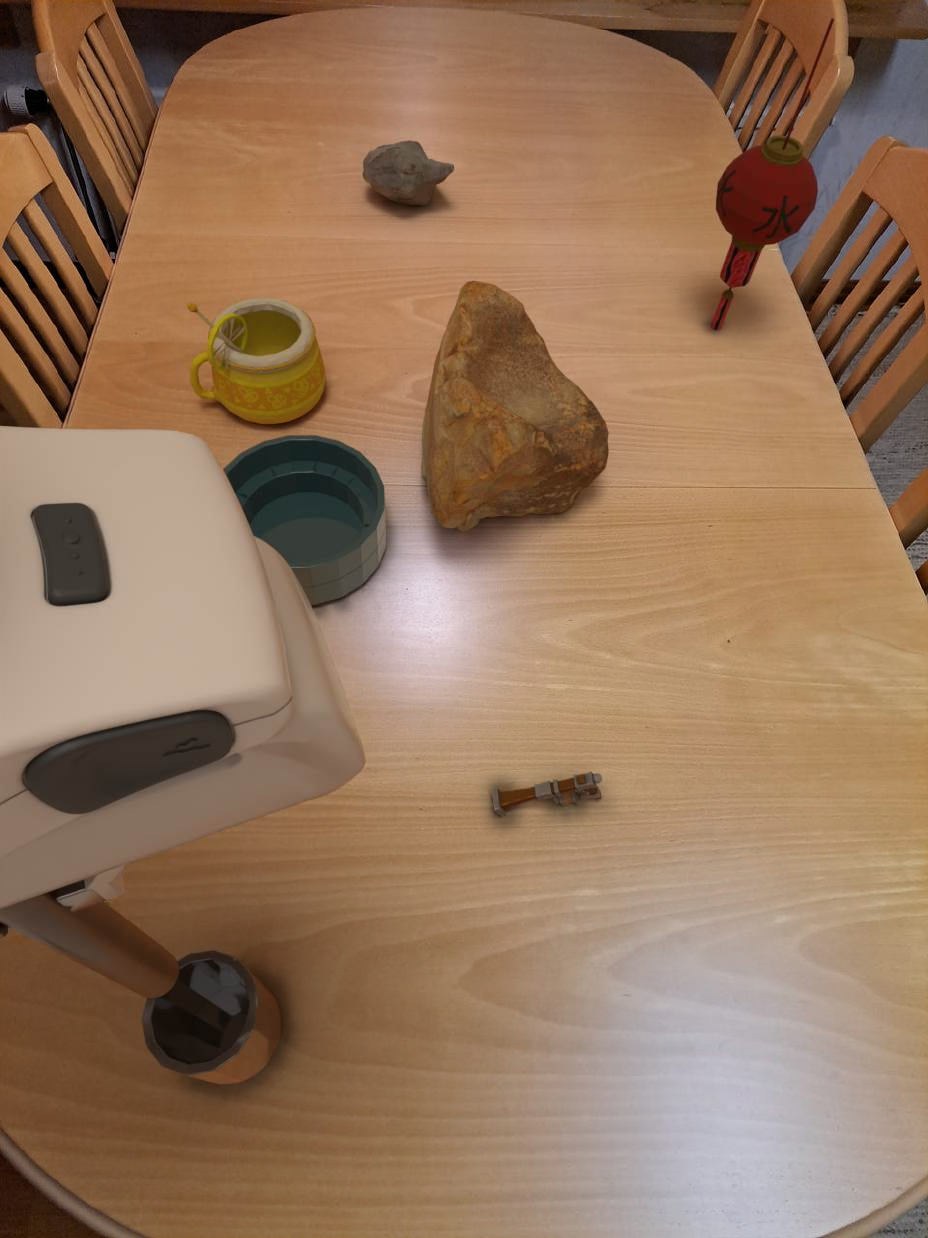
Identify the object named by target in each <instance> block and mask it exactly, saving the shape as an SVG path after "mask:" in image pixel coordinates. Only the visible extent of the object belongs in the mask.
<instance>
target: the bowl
mask: <svg viewBox="0 0 928 1238" xmlns="http://www.w3.org/2000/svg"><path fill="white" fill-rule="evenodd" d="M222 469H223V471H224V472H225V474H226V476H227V478H228V480H229V482H230V484H231V486H232V488H233V490H234V492H235V494H236V496H237V498H238V500H239V502H240V505H241V507H242V509H243V512H244V514H245V516H246V519H247V521H248V523H249V526H250V528H251V530H252V533H253V536H255V537H257V538H259V539H261V540H263V541H264V542H266V543H267V544H269V545H270V546H271V547H272V548H274V549H275V550H276V551H277V552H278V553H279V554H280V555H281V556H282V557H283V558H284V560H285V561H286V562H287V563H288V565H289V566H290V567H291V569H292V571H293V572H294V574H295V576H296V577H297V579H298V581H299V583H300V584H301V586H302V588H303V590H304V592H305V594H306V596H307V598H308V600H309V602H310V604H311V606H315V605H319V604H323V603H327V602H330V601H334V600H336V599H340V598H342V597H344V596H346V595H348V594H349V593H351V592H353V591H354V590H355V589H358V588H359V587H361V586H362V585H363V584H365V582H366V581H367V580H368V579H369V577H370V576H371V575H372V574H373V573H374V572H375V571H376V570H377V568H378V567H379V566H380V563H381V562H382V559H383V556H384V554H385V550H386V548H387V519H386V518H387V517H386V515H387V514H386V493H385V492H386V491H385V490H386V489H385V485H384V483H383V480H382V478H381V476H380V474H379V471H378V469H377V467H376V466H375V465H374V464H373V463H372V462H371V461H370V460H369V458H367V457H366V456H365V455H364V454H363V453H362V452H361V451H360V450H358V449H356V448H354V447H352V446H350V445H349V444H346V443H345V442H342V441H341V440H337V439H333V438H330V437H325V436H320V435H316V434H315V435H314V434H290V435H284V436H280V437H276V438H271V439H268V440H263V441H261V442H259V443H257V444H255V445H253V446H251V447H249V448H248V449H245V450H243V451H242V452H241V453H240V452H239V454H238V455H237V456H235V457H234V458H233V459H232V460H231V461H230V462H229V463H228V464H226V466H225V467H223V468H222Z"/></svg>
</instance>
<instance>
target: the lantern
mask: <svg viewBox="0 0 928 1238" xmlns="http://www.w3.org/2000/svg"><path fill="white" fill-rule="evenodd" d="M834 22H835V18H833V17H832V18H830V20H829V24H828V26H827V29H826V31H825V33H824V37H823V40H822V42H821V44H820V47H819V50H818V52H817V55H816V58H815V60H814V63H813V66H812V69H811V71H810V74H809V76H808V78H807V82H806V84H805V87H804V90H803V93H802V95H801V96H800V97H801V98H800V100H799V102H798V105H797V108H796V111H795V114H794V116H793V118H792V121H791V124H790V127H789V128H788V132H787V134H786V135H781V134H780V135H778V134H777V135H773V136H770V137H768V138H767V140H766V141H765V142H764V144H762V145H756V146H753V147H750V148H748V149H746V150H745V151H743V152H742V153H741V154H739V155H738V156H736V157H735V158H734V159H732V161H731V162H730V163H729V164H728V165H727V167H726V168H725V169H724V171H723V173H722V174H721V176H720V178H719V180H718V182H717V187H716V197H715V211H716V213H717V216H718V218H719V221H720V223H721V225H722V227H723V228H724V230H725V232H727V233H728V234H729V235H730V236H731V242H730V245H729V247H728V250H727V253H726V256H725V258H724V261H723V264H722V267H721V270H720V273H719V278H720V280H721V281H722V282H723V283H724V284H726V285H727V287H729V288H728V289H725V290H723V292H722V293H721V297H720V298H719V302H718V305H717V307H716V310H715V313H714V316H713V318H712V321H711V323H710V327H711V329H713V330H714V331H719V330H721V329H722V327H723V324H724V322H725V319H726V317H727V315H728V312H729V309H730V307H731V304H732V301H733V299H734V295H735V294H734V293H735V292H733V289H735V288H740V287H746V286H747V285H748V284H749V283H750V281H751V279H752V276H753V273H754V271H755V269H756V266H757V263H758V261H759V258H760V256H761V253H762V252H763V249H764V248H765V246H770V245H771V246H772V245H775V244H778V243H780V242H782V241H784V240H786V239H789V238H790V237H792V236H793V235H795V234H797V233H798V232H799V231H800V230H801V229H802V227H803V226H804V224H805V223H806V221H808V219H809V217H810V216H811V215H812V213H813V212H814V211H815V209H816V203H817V198H818V193H819V188H818V187H819V186H818V179H817V176H816V172H815V169H814V166H813V165H812V164H811V162H810V161H809V159H808V158H807V157H805V156H804V155H803V152H804V146H803V144H802V143H801V142H800V141H799V140H797V139H795V138H794V137H791V134H792V132H793V129H794V126H795V125H796V121H797V119H798V116H799V114H800V111H801V108H802V106H803V103H804V100H805V98H806V95H807V93H808V90H809V87H810V85H811V82H812V79H813V77H814V74H815V72H816V69H817V66H818V63H819V61H820V59H821V56H822V53H823V51H824V49H825V45H826V43H827V40H828V37H829V34H830V32H831V30H832V27H833V24H834Z"/></svg>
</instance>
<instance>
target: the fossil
mask: <svg viewBox="0 0 928 1238" xmlns="http://www.w3.org/2000/svg"><path fill="white" fill-rule="evenodd" d="M362 169H363V171H362V178H363V180H364V181H365V182H366V183H368V184H369V186H371V188H372V189H374V191H375V192H377V193H378V194H380V195H382V196H384V197H385V198H387V199H388V200H391V201H393V202H396V203H398V204H401V205H406V206H410V207H423V206H426V205H428V203H429V202H430V200H431V197H432V195H433V193H434V190H435V189H436V186H437V185H440V184H441V183H444V182H445V180H447V178H448V177H449V176H450V175H451V174H452V173H454V170H455V165H454V164H453V163H450V162H442V161H437V160H435V159H432V158H429V157H428V155H427V153H426V152H425V149H424V148H423V146H422V144H421V143H420V142H419V141H417V140H411V139H410V140H403V141H402V140H401V141H398V142H395V143H390V144H382V145H379V146H376V148H375V149H374V150H369V151H368V153H367V155H366V156H365V157H364V159H363V161H362Z"/></svg>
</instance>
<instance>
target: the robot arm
mask: <svg viewBox="0 0 928 1238" xmlns="http://www.w3.org/2000/svg"><path fill="white" fill-rule="evenodd" d="M223 469H224V468H223V467H222V465H221V464H220V462H219V460H218V459H217V456H216V455H215V453H214V451H213V449H212V448H211V446H210V445H209V443H207V442H206V440H204V439H203V438H201V437H199V436H197V435H195V434H192V433H189V432H185V431H179V430H172V429H158V428H157V429H155V428H153V429H152V428H151V429H150V428H109V429H108V428H60V427H59V428H58V427H56V428H55V427H25V426H10V425H6V426H5V425H0V909H1V908H4V907H7V906H10V905H12V904H15V903H18V902H21V901H24V900H27V899H30V898H32V897H35V896H38V895H41V894H44V893H47V892H49V891H52V890H55V893H56V899H57V902H59V903H60V904H62V905H63V906H69V907H70V910H71V911H73V912H74V911H77V910H80V909H83V908H86V907H89V906H92V905H95V904H98V903H101V902H106V901H109V900H112V899H115V898H118V897H121V896H123V895H124V894H125V881H124V875H123V869H124V868H125V867H126V866H127V865H129V864H133V863H134V862H138V861H140V860H143V859H146V858H149V857H151V856H154V855H157V854H158V855H159V854H161V853H163V852H166V851H169V850H172V849H175V848H178V847H181V846H184V845H186V844H190V843H191V842H195V841H198V840H201V839H203V838H206V837H209V836H213V835H215V834H217V833H221V832H223V831H226V830H229V829H231V828H235V827H238V826H240V825H243V824H247V823H248V822H252V821H254V820H257V819H260V818H263V817H266V816H268V815H271V814H274V813H277V812H280V811H282V810H286V809H288V808H291V807H294V806H297V805H301V804H303V803H305V802H309V801H312V800H316V799H318V798H321V797H325V796H328V795H330V794H332V793H333V792H336V791H338V790H339V789H341V788H342V787H344V786H346V785H347V784H348V783H349V782H350V781H351V780H352V779H354V778H355V777H357V776H358V775H359V773H361V772H362V771H363V769H364V768H365V765H366V760H367V759H366V751H365V748H364V745H363V741H362V738H361V735H360V733H359V730H358V726H357V724H356V721H355V718H354V714H353V712H352V709H351V706H350V703H349V701H348V698H347V694H346V692H345V689H344V686H343V684H342V681H341V678H340V675H339V672H338V670H337V667H336V664H335V661H334V659H333V656H332V654H331V652H330V649H329V646H328V644H327V640H326V638H325V636H324V633H323V631H322V628H321V625H320V623H319V621H318V618H317V616H316V614H315V611H314V609H313V607H312V605H311V604H310V602H309V600H308V598H307V596H306V594H305V592H304V590H303V588H302V586H301V584H300V583H299V581H298V579H297V577H296V576H295V574H294V572H293V571H292V569H291V567H290V566H289V565H288V563H287V562H286V561H285V560H284V558H283V557H282V556H281V555H280V554H279V553H278V552H277V551H276V550H275V549H274V548H272V547H271V546H270V545H269V544H267V543H266V542H264V541H263V540H261V539H259V538H257V537H255V536H253V533H252V530H251V528H250V526H249V523H248V521H247V519H246V516H245V514H244V512H243V509H242V507H241V505H240V502H239V500H238V498H237V496H236V494H235V492H234V490H233V488H232V486H231V484H230V482H229V480H228V478H227V476H226V474H225V472H224V471H223ZM8 934H9V927H7V926H6V925H4V924H2V923H0V939H3V938H5V937H6V936H7V935H8Z"/></svg>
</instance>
